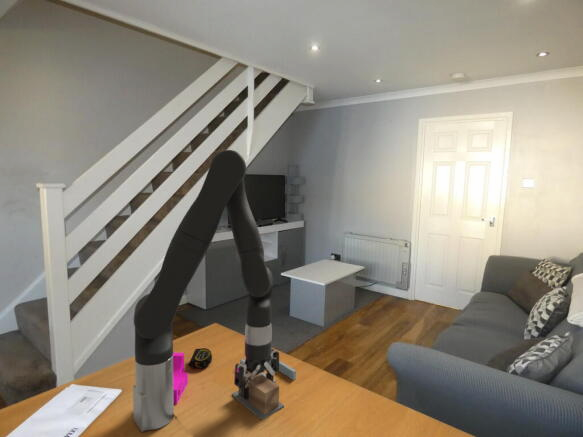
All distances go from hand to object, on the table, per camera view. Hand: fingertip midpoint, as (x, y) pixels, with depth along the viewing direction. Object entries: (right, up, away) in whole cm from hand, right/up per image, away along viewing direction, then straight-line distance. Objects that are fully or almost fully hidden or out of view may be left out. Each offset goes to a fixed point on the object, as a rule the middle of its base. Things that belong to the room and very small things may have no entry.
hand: (257, 392), depth 98 cm
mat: (0, -3, 0) cm, 3 cm away
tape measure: (-24, 0, +21) cm, 31 cm away
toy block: (-25, -2, +5) cm, 26 cm away
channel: (+2, -1, +14) cm, 14 cm away
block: (0, -2, 0) cm, 2 cm away
